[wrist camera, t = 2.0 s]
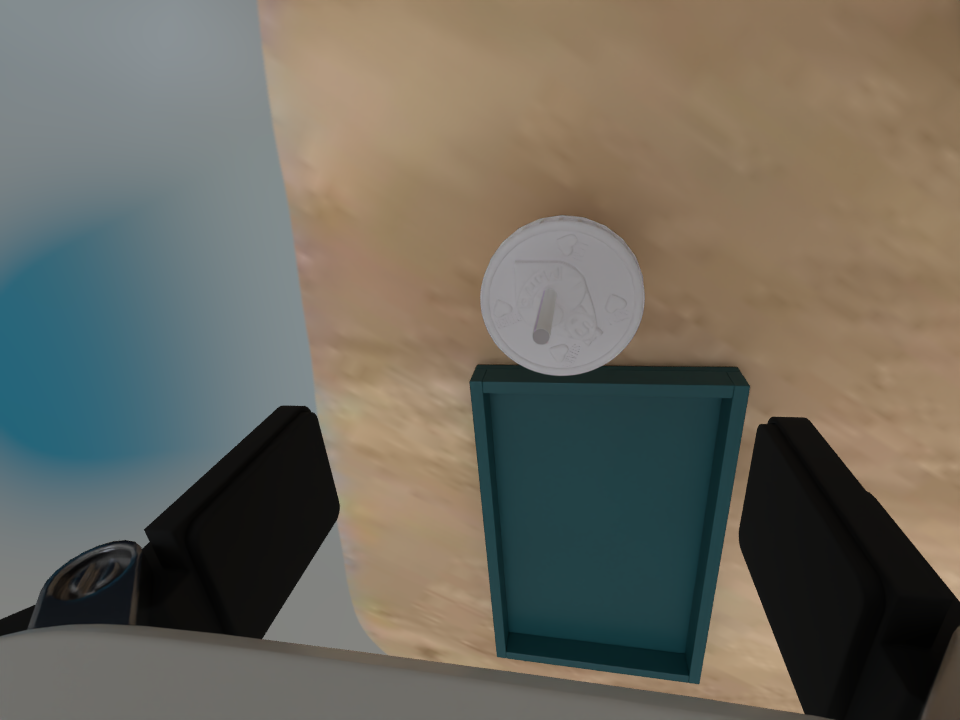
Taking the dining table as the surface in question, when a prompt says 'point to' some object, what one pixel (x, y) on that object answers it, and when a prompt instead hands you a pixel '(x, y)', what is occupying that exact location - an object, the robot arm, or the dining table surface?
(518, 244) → the smoothie
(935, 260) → the dining table surface
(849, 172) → the dining table surface
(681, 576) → the tray
